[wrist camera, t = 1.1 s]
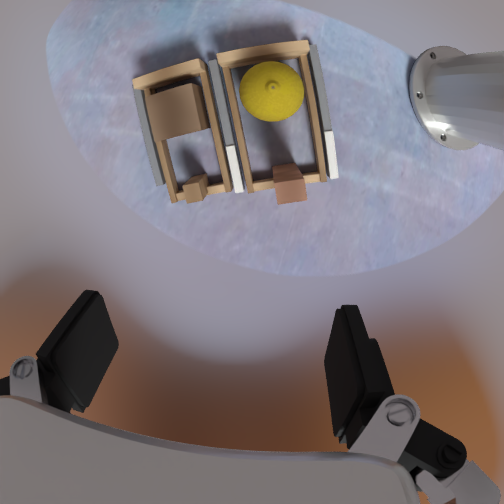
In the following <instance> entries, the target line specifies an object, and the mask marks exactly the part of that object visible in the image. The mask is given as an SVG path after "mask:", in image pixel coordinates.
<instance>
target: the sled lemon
mask: <svg viewBox="0 0 504 504" xmlns="http://www.w3.org/2000/svg"><path fill="white" fill-rule="evenodd" d="M309 50H310V48H309V43H308V40H301V41H290V42H281V43H273V44H266V45H259V46H253V47H247V48H242V49H237V50H232V51H227V52H222V53H218V54H217V59H218V64H219V65H220V66H221V67H222V68H223V73H224V78H225V83H226V88H227V92H228V97H229V102H230V107H231V112H232V116H233V121H234V126H235V131H236V136H237V141H238V146H239V151H240V156H241V160H242V165H243V170H244V175H245V180H246V185H247V190H248V193H253V192H254V191H259V190H265V189H272V188H275V191H276V197H277V203H278V205H279V204H285V203H292V202H299V201H306V200H307V194H306V187H305V183H313V182H327V178H326V170H325V162H324V154H323V147H322V140H321V133H320V126H319V120H318V114H317V108H316V102H315V96H314V91H313V85H312V80H311V75H310V70H309V65H308V60H307V56H306V55H307V53H308V52H309ZM297 58H298V60H299V64H300V69H301V74H302V79H303V84H304V89H305V95H306V100H307V106H308V112H309V118H310V124H311V130H312V136H313V143H314V150H315V157H316V164H317V172H310V173H303V174H301V172H300V170H299V169H298V167H297V165H296V164H295V163H290V164H283V165H277V166H272V170H273V178H269V179H263V180H257V181H253V178H252V172H251V167H250V162H249V157H248V152H247V147H246V142H245V137H244V132H243V127H242V122H241V117H240V112H239V107H238V102H237V98H236V93H235V88H234V83H233V78H232V73H231V69H232V68H237V67H242V66H247V65H253V64H259V63H262V62H267V61H279V60H288V59H297Z"/></svg>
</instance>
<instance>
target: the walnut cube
mask: <svg viewBox="0 0 504 504" xmlns="http://www.w3.org/2000/svg"><path fill="white" fill-rule="evenodd" d="M145 102H146V106H147V111H148V115H149V120H150V124H151V128H152V133H153V137H154V141H155V142H159V141H162V140H166V139H169V138H173V137H177V136H180V135H184V134H188V133H192V132H196V131H200V130H204V129H207V128H210V123H209V118H208V114H207V109H206V104H205V100H204V95H203V90H202V87H201V86H198V85H195V84H193V83H189V84H186V85H182V86H179V87H175V88H172V89H169V90H165V91H162V92H159V93H156V94H153V95H150V96H147V97H145Z"/></svg>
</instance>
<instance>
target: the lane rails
mask: <svg viewBox="0 0 504 504" xmlns="http://www.w3.org/2000/svg"><path fill="white" fill-rule="evenodd" d="M309 48H310V50H309V52H308V53H307V55H308V60H309V64H310V69H311V74H312V79H313V84H314V90H315V95H316V101H317V107H318V113H319V119H320V125H321V132H322V139H323V146H324V153H325V161H326V169H327V176H328V177H329V178H330V179H335V178H338V168H337V160H336V151H335V144H334V136H333V131H332V127H331V120H330V113H329V107H328V101H327V95H326V90H325V84H324V79H323V74H322V69H321V64H320V59H319V54H318V50H317V45H309ZM208 63H209V67H210V72H211V77H212V82H213V86H214V91H215V96H216V101H217V106H218V110H219V115H220V120H221V124H222V129H223V134H224V139H225V143H226V151H227V155H228V160H229V165H230V169H231V174H232V179H233V183H234V188H235V193H241V192H244V189H245V186H244V181H243V176H242V172H241V167H240V162H239V157H238V152H237V147H236V142H235V137H234V133H233V128H232V123H231V118H230V113H229V108H228V104H227V99H226V94H225V89H224V84H223V80H222V75H221V70H220V65H219V64H218V60H217V59H215V60H211V61H208Z"/></svg>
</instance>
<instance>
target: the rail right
mask: <svg viewBox="0 0 504 504" xmlns="http://www.w3.org/2000/svg"><path fill="white" fill-rule="evenodd" d="M132 86H133V91H134V96H135V101H136V105H137V110H138V115H139V119H140V123H141V128H142V132H143V136H144V140H145V144H146V148H147V152H148V156H149V160H150V164H151V168H152V172H153V175H154V179H155V183H156V186H160V185H163V184H165V183H166V181H165V177H164V173H163V169H162V165H161V161H160V157H159V154H158V149H157V145H156V142H155V141H154V137H153V133H152V128H151V124H150V120H149V115H148V111H147V106H146V102H145V92H144V90H140V89H134V85H132Z"/></svg>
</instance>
